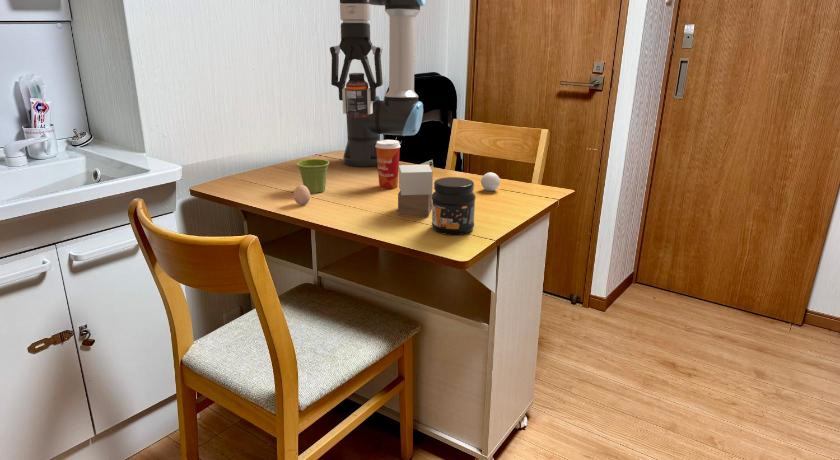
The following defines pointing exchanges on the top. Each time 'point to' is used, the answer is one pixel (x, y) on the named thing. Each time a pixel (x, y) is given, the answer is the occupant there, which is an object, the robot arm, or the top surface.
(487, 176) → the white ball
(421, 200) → the bottom block
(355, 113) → the supplement bottle
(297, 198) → the egg
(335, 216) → the top surface
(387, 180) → the paper cup
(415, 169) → the top block
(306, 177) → the plant pot
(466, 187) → the supplement container
